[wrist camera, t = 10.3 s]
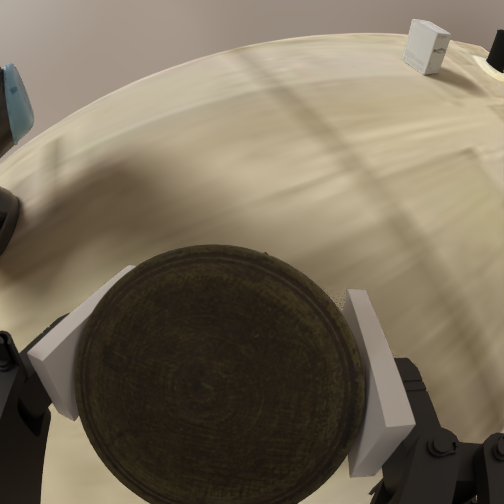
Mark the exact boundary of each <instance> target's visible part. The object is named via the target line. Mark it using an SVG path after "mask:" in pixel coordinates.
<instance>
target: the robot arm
mask: <svg viewBox="0 0 504 504" xmlns="http://www.w3.org/2000/svg"><path fill="white" fill-rule="evenodd" d="M33 123H34V114H33V110H32V106H31V104H30V101H29V97H28V95H27V92H26V89H25V87H24V84H23V81H22V79H21V77H20V75H19V72H18V70H17V68H16V67H15V66H14V65H13V64H12V63H10V64H8V65H5V66H4V68H3V69H1V67H0V158H1V157H2V156H3V155H4V154H5V153H6V152H7V151H9V149H11V148H12V147H13V146H14V145H17V143H18V141H19V140H20V139H21V138H22V137H23V136H25V135H26V134H27V133H28V132H29V131H30V130H31V128H32V126H33ZM18 212H19V203H18V200H17V198H16V197H15V196H14V195H13V194H12V193H11V192H10V191H9V190H7V189H5V188H2V187H0V255H1V253H2V252H3V250H4V249H5V247H6V245H7V243H8V241H9V240H10V237H11V235H12V233H13V230H14V228H15V225H16V221H17V217H18ZM135 267H136V266H132V265H128V266H126V267H125V268H124V269H123V270H121V271H120V272H119V273H118V274H116V275H115V276H114V277H113V278H111V279H110V280H109V281H108V282H107V283H105V284H104V285H103V286H102V287H101V288H99V289H98V290H97V291H96V292H94V293H93V294H92V295H91V296H90V297H89V298H87V299H86V300H85V301H84V302H83V303H81V304H80V305H79V306H78V307H77V308H76V309H75V310H73V311H72V312H71V313H68V314H66V315H64V316H62V317H60V318H58V319H57V320H56V321H54V322H53V323H52V324H51V325H50V327H48V328H46V329H45V330H44V331H43V333H41V334H40V335H39V336H38V337H36V338H35V339H34V340H33V341H32V342H31V343H30V344H29V345H28V346H27V347H26V348H25V349H23V350H22V351H21V352H20V353H18V350H17V348H16V346H15V344H14V341H13V339H12V337H11V335H10V334H9V333H8V332H6V331H0V504H40V502H41V485H42V474H43V464H44V456H45V449H46V443H47V437H48V431H49V425H50V420H51V412H50V410H49V408H48V407H49V406H50V404H51V403H53V404H54V406H55V408H56V409H57V411H58V412H59V413H60V414H62V415H63V416H65V417H67V418H69V419H71V420H73V421H75V420H76V419H77V417H78V416H79V412H78V409H77V404H76V397H75V386H74V371H75V361H76V355H77V349H78V345H79V342H80V338H81V335H82V333H83V330H84V328H85V326H86V323H87V321H88V319H89V317H90V315H91V313H92V312H93V310H94V308H95V307H96V305H97V304H98V302H99V301H100V300H101V298H102V297H103V296H104V295H105V293H106V292H107V291H108V290H109V289H110V288H111V287H112V286H113V285H114V284H115V283H116V282H117V281H118V280H119V279H120V278H121V277H123V276H124V275H125V274H126V273H128V272H129V271H130V270H132V269H133V268H135ZM342 315H343V316H344V318H345V320H346V321H347V323H348V325H349V327H350V329H351V331H352V333H353V335H354V337H355V340H356V342H357V345H358V348H359V351H360V354H361V358H362V363H363V368H364V375H365V406H364V412H363V417H362V421H361V424H360V428H359V431H358V434H357V436H356V439H355V441H354V443H353V445H352V447H351V449H350V451H349V453H348V459H349V474H350V478H351V477H365V476H374V475H375V474H376V473H377V472H378V471H379V470H380V469H381V468H382V471H383V479H382V480H381V481H380V482H379V483H378V484H377V485H376V486H375V487H374V488H373V489H372V490H371V491H370V493H369V494H370V495H372V494H373V493H374V492H375V493H374V496H373V498H372V500H371V503H370V504H504V434H503V433H495V434H492V435H490V436H489V437H488V438H487V439H486V440H485V442H484V443H483V444H475V443H463V442H459V441H458V439H457V437H456V436H455V435H454V434H453V433H452V432H451V431H449V430H447V429H444V428H441V426H440V423H439V421H438V418H437V415H436V413H435V410H434V407H433V405H432V402H431V399H430V397H429V394H428V392H427V391H426V387H425V385H424V382H422V377H421V375H420V373H419V370H418V368H417V367H416V366H415V365H414V364H413V363H412V362H411V361H410V360H409V359H408V358H393V355H392V353H391V350H390V348H389V345H388V343H387V340H386V337H385V335H384V332H383V330H382V328H381V325H380V323H379V320H378V318H377V315H376V313H375V311H374V308H373V306H372V304H371V301H370V299H369V297H368V295H367V292H366V290H359V289H347V294H346V298H345V303H344V307H343V312H342ZM476 495H477V500H476Z"/></svg>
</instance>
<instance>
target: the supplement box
mask: <svg viewBox="0 0 504 504" xmlns="http://www.w3.org/2000/svg"><path fill="white" fill-rule="evenodd" d="M450 38H451V34H450V33H448V32H447V31H445V30H443V29H441V28H440V27H438V26H436V25H435V24H433V23H431V22H429V21H423V20H417V19H412V23H411V27H410V31H409V35H408V39H407V43H406V47H405V50H404V54H403V58H402V60H403V61H404V62H406V63H407V64H409V65H410V66H411V67H413V68H414V69H416V70H417V71H419V72H420V73H421V74H423V75H426V74H434V73H438V72H439V70H440V67H441V64H442V61H443V59H444V56H445V53H446V50H447V47H448V44H449V41H450Z"/></svg>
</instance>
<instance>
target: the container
mask: <svg viewBox="0 0 504 504" xmlns="http://www.w3.org/2000/svg"><path fill="white" fill-rule="evenodd" d="M74 386H75V397H76V404H77V409H78V412H79V416H80V419H81V422H82V425H83V428H84V430H85V432H86V435H87V437H88V439H89V441H90V443H91V445H92V446H93V448H94V450H95V451H96V453H97V455H98V456H99V458H100V459H101V460H102V462H103V463H104V464H105V466H106V467H107V468H108V469H109V470H110V472H111V473H112V474H113V475H114V476H115V477H116V478H117V479H118V480H119V481H120V482H121V483H122V484H123V485H125V486H126V487H127V488H128V489H130V490H131V491H132V492H134V493H135V494H136V495H138V496H139V497H141V498H142V499H144V500H145V501H147V502H149V503H150V504H297V503H299V502H301V501H302V500H303V499H305V498H306V497H308V496H309V495H311V494H312V493H313V492H315V491H316V490H317V489H318V488H320V487H321V486H322V485H323V484H324V483H325V482H326V481H327V480H328V479H329V478H330V477H331V476H332V475H333V474H334V472H335V471H336V470H337V469H338V468H339V466H340V465H341V463H342V462H343V461H344V459H345V458H346V456H347V454H348V453H349V451H350V449H351V447H352V445H353V443H354V441H355V439H356V436H357V434H358V431H359V428H360V424H361V421H362V417H363V412H364V406H365V375H364V368H363V363H362V358H361V354H360V351H359V348H358V345H357V342H356V340H355V337H354V335H353V333H352V331H351V329H350V327H349V325H348V323H347V321H346V320H345V318H344V316H343V315H342V313H341V312H340V310H339V309H338V307H337V306H336V305H335V303H334V302H333V301H332V300H331V299H330V297H329V296H328V295H327V294H326V293H325V292H324V291H323V290H322V289H321V288H320V287H319V286H318V285H316V284H315V283H314V282H313V281H312V280H311V279H309V278H308V277H307V276H305V275H304V274H303V273H301V272H300V271H298V270H297V269H295V268H294V267H292V266H290V265H289V264H287V263H285V262H283V261H281V260H279V259H277V258H274V257H272V256H269V255H267V254H264V253H261V252H258V251H255V250H251V249H247V248H243V247H237V246H229V245H196V246H189V247H184V248H180V249H176V250H172V251H169V252H166V253H163V254H160V255H157V256H155V257H153V258H151V259H149V260H147V261H145V262H143V263H141V264H140V265H138V266H136V267H135V268H133V269H132V270H130V271H129V272H128V273H126V274H125V275H124V276H123V277H121V278H120V279H119V280H118V281H117V282H116V283H115V284H114V285H113V286H112V287H111V288H110V289H109V290H108V291H107V292H106V293H105V295H104V296H103V297H102V298H101V300H100V301H99V302H98V304H97V305H96V307H95V308H94V310H93V312H92V313H91V315H90V317H89V319H88V321H87V323H86V326H85V328H84V330H83V333H82V335H81V338H80V342H79V345H78V349H77V355H76V361H75V371H74Z"/></svg>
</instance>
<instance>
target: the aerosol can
mask: <svg viewBox="0 0 504 504" xmlns="http://www.w3.org/2000/svg"><path fill="white" fill-rule="evenodd" d="M486 61H487V62H488V63H489V64H490V65H491V66H492V67H493V68H495V69H496V70H498V71H499V72H502V73H503V71H504V30H497V34H496V37H495V40H494V43H493V45H492V48H491V51H490V53H489V56H488V58H487V59H486Z"/></svg>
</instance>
